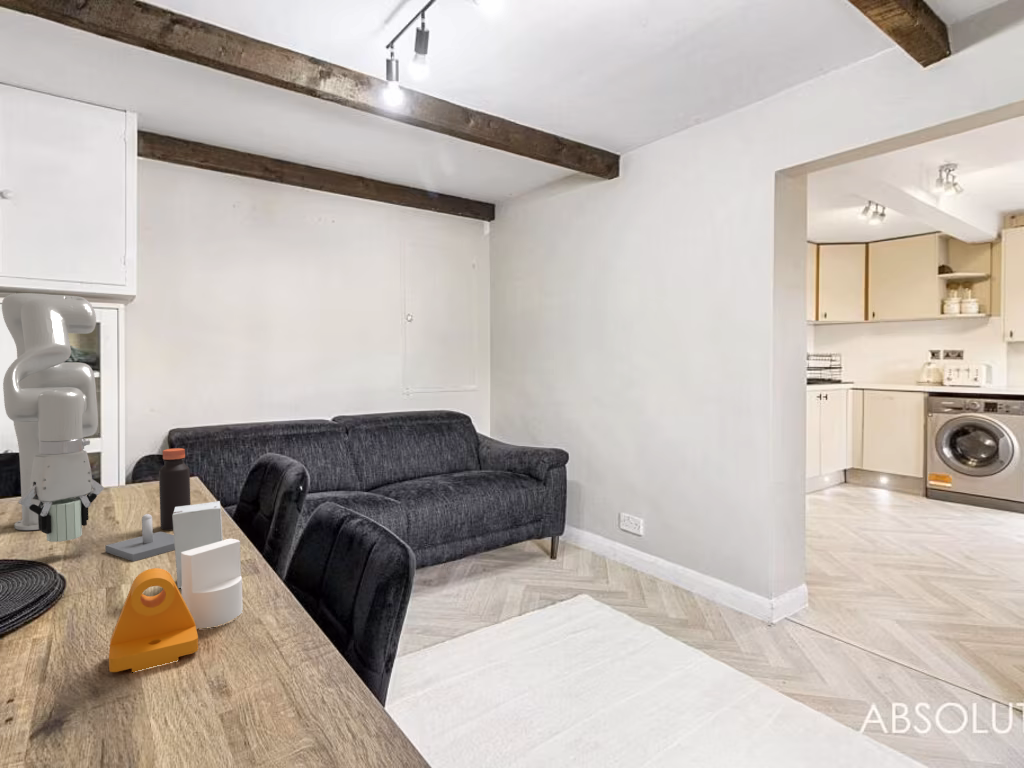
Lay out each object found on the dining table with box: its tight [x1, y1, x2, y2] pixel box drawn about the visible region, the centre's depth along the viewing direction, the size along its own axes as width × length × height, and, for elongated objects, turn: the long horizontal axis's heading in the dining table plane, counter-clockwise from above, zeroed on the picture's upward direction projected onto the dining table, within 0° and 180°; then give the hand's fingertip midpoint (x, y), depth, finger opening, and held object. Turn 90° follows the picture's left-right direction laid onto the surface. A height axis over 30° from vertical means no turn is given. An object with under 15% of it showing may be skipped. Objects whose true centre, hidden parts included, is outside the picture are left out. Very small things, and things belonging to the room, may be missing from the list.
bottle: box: [158, 447, 192, 531], centre depth 149 cm, size 7×7×20 cm
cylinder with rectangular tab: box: [180, 538, 244, 628], centre depth 97 cm, size 9×9×12 cm
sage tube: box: [46, 498, 83, 543], centre depth 127 cm, size 6×6×8 cm
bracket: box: [108, 567, 199, 673], centre depth 84 cm, size 11×7×12 cm
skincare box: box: [172, 500, 224, 590], centre depth 112 cm, size 8×6×15 cm
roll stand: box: [104, 513, 175, 562], centre depth 132 cm, size 12×12×8 cm
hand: (64, 527), depth 127 cm, fingers closed on sage tube, 6 cm apart
